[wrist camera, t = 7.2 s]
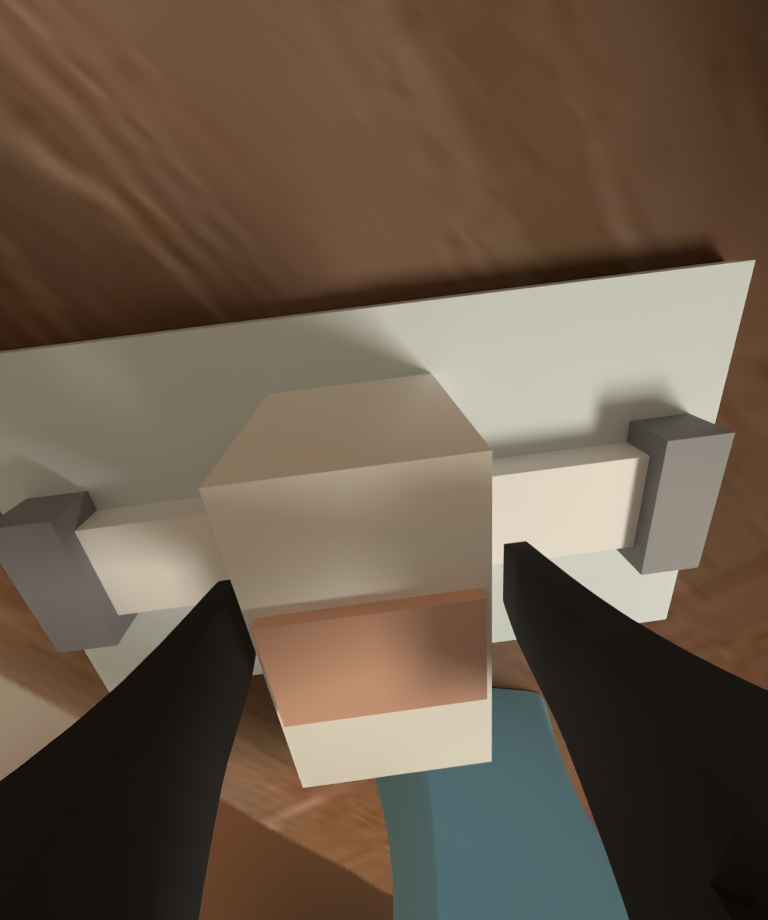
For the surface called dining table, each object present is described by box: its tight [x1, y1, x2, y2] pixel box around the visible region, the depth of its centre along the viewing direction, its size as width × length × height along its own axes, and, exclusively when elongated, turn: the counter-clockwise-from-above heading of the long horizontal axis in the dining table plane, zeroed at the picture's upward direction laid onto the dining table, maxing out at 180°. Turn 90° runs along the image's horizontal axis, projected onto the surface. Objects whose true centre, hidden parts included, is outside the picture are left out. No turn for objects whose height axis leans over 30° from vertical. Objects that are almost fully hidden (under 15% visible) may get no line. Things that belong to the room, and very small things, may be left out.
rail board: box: [0, 260, 755, 693], centre depth 14 cm, size 24×14×3 cm, turn 97°
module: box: [199, 373, 492, 788], centre depth 11 cm, size 5×9×6 cm, turn 6°
